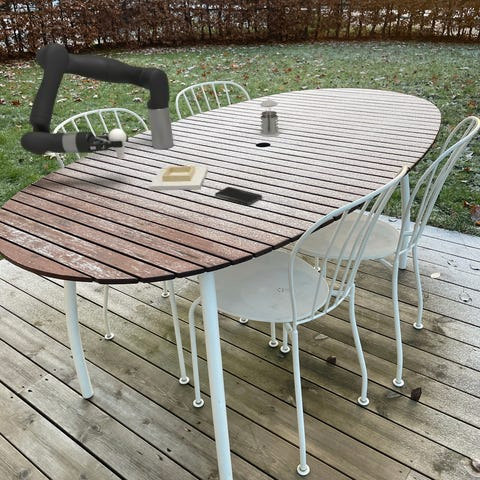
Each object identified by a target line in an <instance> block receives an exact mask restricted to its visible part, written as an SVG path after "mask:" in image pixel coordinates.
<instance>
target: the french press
mask: <svg viewBox="0 0 480 480" xmlns="http://www.w3.org/2000/svg"><path fill="white" fill-rule="evenodd" d="M270 81H271V78H270V77H267V78H266V82H267V88H268V95H267V96H270V88H269V87H270V85H269V83H270ZM278 103H279V102H277V101H275V100H271V99H267V100H264V101H262V102H260V104H259V105H260V107H261V108H262V107H263V108H269V110H268V109H266V111H262V112H261V113H260V114H261V115H260V128H261V129H260V130H261V131H260V133H259V134H258V135H259V136H260V137H264V138H274V137H279V136H280V135H281V133H280V131H279V123H278V122H279V120H278V119H279V115H278V112H277V111H274V110H271V109H270V108H271V107H272V108H273V107H276V106H278Z"/></svg>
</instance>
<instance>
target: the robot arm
mask: <svg viewBox="0 0 480 480" xmlns="http://www.w3.org/2000/svg"><path fill="white" fill-rule="evenodd" d="M35 60H36V62H37V65H38V66H39V68H41V69H42V70H43V74H42V79H41V83H40V84H39V87H38V90H37V91H36V94H35V96H34V99H33V102H32V106H31V109H30V114H29V124H30V126H31V127H32V131H28V132H26V133H24V134H23V135H22V136H21V137H20V141H19V144H20V145H21V148H22V149H23V150H24V151H26V152H29V153H30V154H34V155H36V156H43V155H45V154H47V152H51V153H55V154H90V153H91V154H93V153H94V152H103V151H108V150H111V149H115V148H121V147H123V143H122V141H109V133H110V132H101V134H98V135H97V136H95V135H94V132H92V131H89V130H85V131H83V130H82V131H68V132H54V133H53V132H51V122H52V118H53V113H54V108H55V104H56V100H57V95H58V92H59V89H60V87H61V83H62V80H63V78H64V76H65V74H68V75H74V76H78V77H82V78H86V79H89V80H90V79H91V80H94V81H97V82H98V81H99V82H103V83H109V84H118V85H121V84H123V85H124V84H127V85H133V86H137V87H139V88H142V89H145V90H147V91H149V96H150V97H149V100H147V101H146V108H147V114H148V115H147V116H148V121H149V122H148V123H149V128H150V134H151V142H152V147H153V149H155V150H165V149H170V148H172V147H174V145H175V144H174V136H173V129H172V120H171V113H170V97H171V96H170V84H169V83H170V82H169V79H168V75H167V73H166V72H165V70H163V69H162V68H156V67H147V66H146V67H145V66H137V65H132V64H129V63H126V62H124V61H121V60H118V59H116V58H113V57H107V56H104V55H94V54H93V55H92V54H74V53H69V52H68V50H67V48H66V47H65V46H64V45H62V44H60V43H57V42H53V43H48V44H46V45H44V46H42V47H40V48H39V50H37V52H36V54H35ZM126 137H127V139H126V143H128V142H129V136H128V134H126Z"/></svg>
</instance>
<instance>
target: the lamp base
mask: <svg viewBox="0 0 480 480" xmlns="http://www.w3.org/2000/svg"><path fill="white" fill-rule="evenodd" d="M208 168H209V167H205V166H204V167H201V166H200V167H199V166H198V167H196V166H195V165H193V166H192V165H190V166H188V165H185V166H184V165H183V166H168V167H167V168H164V167H163V168H162V167H161V168H160V169H159V171H158V172H157V174H156V175H155V177H154V178H153V179H152V181H151V183H150V184H149V186H148V188H149V191H168V190H169V191H172V190H173V191H179V190H201V188H202V186H203V183H204V181H205V179H206V178H207V174H208V172H209V171H208Z"/></svg>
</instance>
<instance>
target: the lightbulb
mask: <svg viewBox="0 0 480 480" xmlns="http://www.w3.org/2000/svg"><path fill="white" fill-rule="evenodd" d="M108 133H109V140H108V141H122V143H123V147H121V148H114V152H115V154H116V156H117V158H118V159H119V160H123V159H124V158H125V151H126V150H125V146H126V143H127V142H126V139H127V137H126V135H127V134H126V132H125V131H124V130H122V129H120V128H113V129H112V130H111V131H110V132H108Z"/></svg>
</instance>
